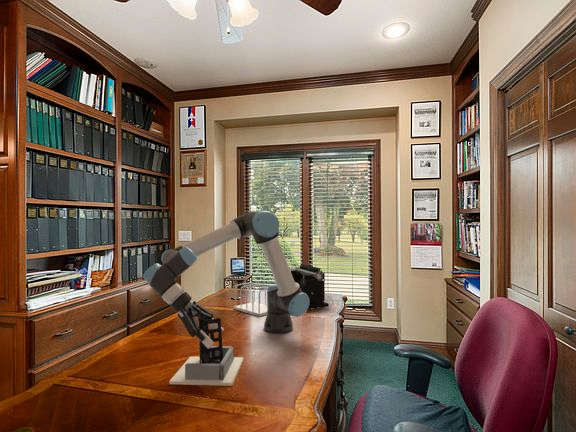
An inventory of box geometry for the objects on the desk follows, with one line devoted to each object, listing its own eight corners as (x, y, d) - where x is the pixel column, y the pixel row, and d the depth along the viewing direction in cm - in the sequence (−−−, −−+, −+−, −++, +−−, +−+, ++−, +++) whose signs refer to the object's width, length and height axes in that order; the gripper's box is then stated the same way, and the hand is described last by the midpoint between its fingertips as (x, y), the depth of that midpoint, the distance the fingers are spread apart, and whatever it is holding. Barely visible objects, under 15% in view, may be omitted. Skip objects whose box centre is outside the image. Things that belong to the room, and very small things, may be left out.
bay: (243, 359, 128) (243, 345, 128) (232, 385, 108) (232, 368, 108) (190, 358, 129) (190, 344, 129) (169, 384, 109) (169, 366, 109)
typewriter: (271, 301, 222) (271, 265, 223) (304, 296, 235) (304, 263, 235) (292, 312, 195) (292, 271, 195) (328, 306, 208) (328, 268, 208)
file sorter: (280, 311, 197) (280, 286, 198) (259, 317, 185) (259, 290, 185) (254, 304, 215) (254, 281, 215) (233, 309, 202) (233, 284, 202)
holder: (229, 363, 122) (225, 313, 120) (219, 374, 115) (216, 321, 113) (203, 360, 125) (200, 311, 123) (192, 371, 118) (189, 319, 116)
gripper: (183, 297, 132) (218, 333, 131) (155, 314, 107) (198, 360, 106) (195, 284, 132) (231, 321, 131) (170, 299, 107) (214, 344, 106)
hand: (216, 338), depth 119 cm, fingers open, 13 cm apart
